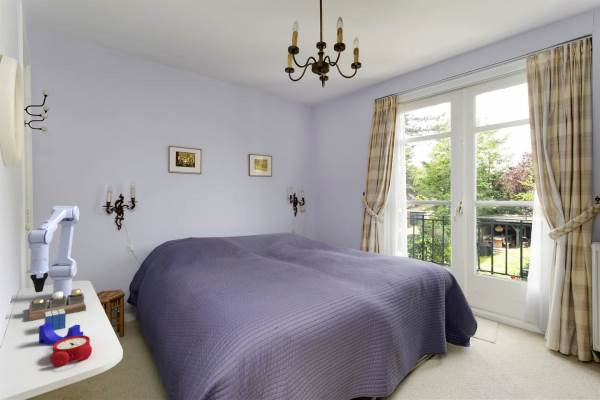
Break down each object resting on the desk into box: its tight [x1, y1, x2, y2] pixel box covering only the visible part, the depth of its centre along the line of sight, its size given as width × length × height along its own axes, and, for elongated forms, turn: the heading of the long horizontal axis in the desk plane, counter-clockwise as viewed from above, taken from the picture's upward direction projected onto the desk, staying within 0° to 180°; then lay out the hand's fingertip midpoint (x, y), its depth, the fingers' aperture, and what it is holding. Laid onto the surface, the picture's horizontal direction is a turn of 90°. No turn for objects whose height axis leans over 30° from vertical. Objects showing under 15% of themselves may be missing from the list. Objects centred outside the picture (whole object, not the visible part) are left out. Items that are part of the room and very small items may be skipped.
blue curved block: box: [38, 323, 84, 346], centre depth 102 cm, size 12×4×6 cm, turn 85°
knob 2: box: [71, 288, 82, 297], centre depth 133 cm, size 3×3×3 cm
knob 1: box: [32, 298, 45, 304], centre depth 125 cm, size 3×3×3 cm
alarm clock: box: [49, 334, 93, 367], centre depth 93 cm, size 10×6×15 cm
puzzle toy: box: [44, 309, 67, 331], centre depth 112 cm, size 6×6×6 cm
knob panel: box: [28, 292, 87, 322], centre depth 129 cm, size 16×18×5 cm
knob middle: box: [52, 292, 63, 300], centre depth 129 cm, size 3×3×3 cm
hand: (39, 291), depth 125 cm, fingers closed
